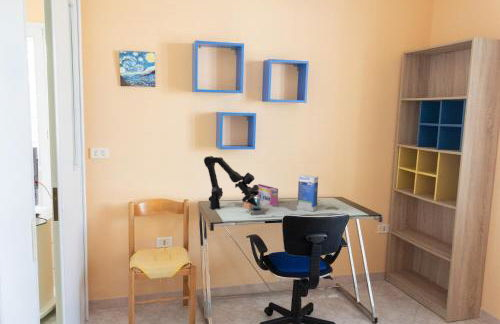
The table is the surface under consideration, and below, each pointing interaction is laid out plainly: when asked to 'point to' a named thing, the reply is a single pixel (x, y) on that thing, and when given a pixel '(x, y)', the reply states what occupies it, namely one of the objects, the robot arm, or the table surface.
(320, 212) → the table surface
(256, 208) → the battery
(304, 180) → the string lights box
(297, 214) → the table surface
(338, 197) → the table surface
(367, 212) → the table surface
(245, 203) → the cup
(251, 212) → the tray
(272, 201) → the gum box
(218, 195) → the robot arm
